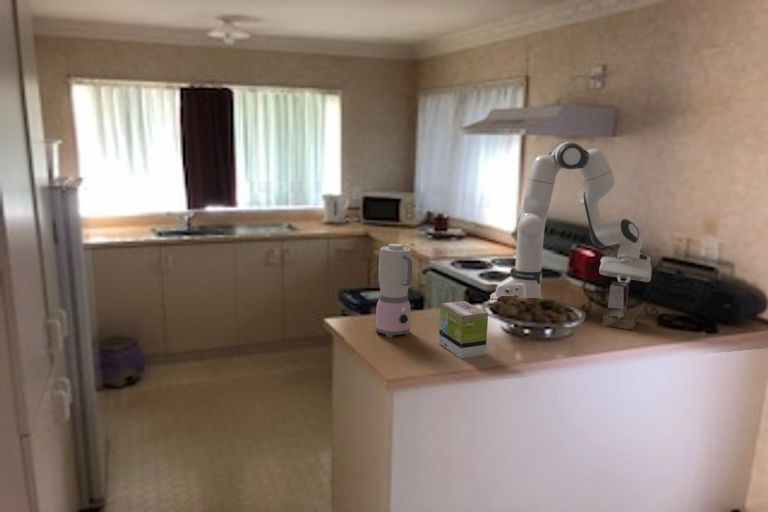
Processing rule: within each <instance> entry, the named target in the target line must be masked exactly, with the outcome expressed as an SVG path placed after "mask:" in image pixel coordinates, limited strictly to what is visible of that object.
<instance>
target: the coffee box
mask: <svg viewBox="0 0 768 512" xmlns="http://www.w3.org/2000/svg"><path fill="white" fill-rule="evenodd" d="M629 288H630V282H629V283H626V282H618V281H616V280H612V281H611V283H610V286H609V292H608V293H609V294H608V303H607V310H608V311H607V317H612V318H619V319H625V320H626V315H627V306H628V305H627V304H628V296H629Z"/></svg>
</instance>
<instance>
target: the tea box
mask: <svg viewBox="0 0 768 512" xmlns="http://www.w3.org/2000/svg"><path fill="white" fill-rule="evenodd" d="M488 321H489V313H488V312H487V311H485V310H483V309H481V308H479V307H477V306H475V305H473V304H471V303H469V302H467V301H465V300H462V301H452V302H451V301H450V302H445V303H443V302H441V303H440V306H439V326H438V327H439V330H438V331H439V332H438V344H439V345H441V346H443V347H444V348H446V350H448V351H449V352H450V353H452V354H453V355H455V356H456V357H458V358H459V359H467V358H474V356H475V357H480V356H486V353H487V352H486V351H487V337H488V324H489V323H488Z"/></svg>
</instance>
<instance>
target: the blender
mask: <svg viewBox="0 0 768 512" xmlns="http://www.w3.org/2000/svg"><path fill="white" fill-rule="evenodd" d="M412 276H413V261H412V250H411V248H410V247H406V246H404V245H403V244H401V243H389V244H388V246H383V247H380V249H379V259H378V284H379V290H380V296H379V298H378V301H377V303H376V311H375V313H376V314H375V317H376V318H375V320H376V321H375V330H376V331H377V333H381V334H384V335H385V337H386V338H389V339H392V338H393V337H394V336H397V335H403V334H404V335H405V336H409V334H410V329H411V328H410V325H411V323H410V322H411V303H410V301H409V299H408V292H409V287H410V285H411V284H412V279H413V277H412Z"/></svg>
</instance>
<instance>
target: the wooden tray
mask: <svg viewBox="0 0 768 512" xmlns="http://www.w3.org/2000/svg"><path fill="white" fill-rule="evenodd" d="M607 311H608V308H603V311H602V321H601V326H602V325H604V326H603V327H607V326H611V327H610V328H614V327H618V328H617V329H620V328H625V329H624V330H626V329H632V330H631V331H633V330H634V331H635V328H634V327H636V324H637V323H636V322H639V323H640V318H641V314H640V313H634V314H633V315H632V318H631V320H630V319H626V318H625V319H619V318H612V317H607Z"/></svg>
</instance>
